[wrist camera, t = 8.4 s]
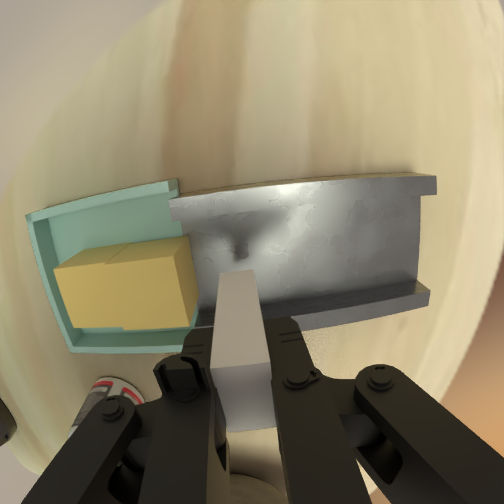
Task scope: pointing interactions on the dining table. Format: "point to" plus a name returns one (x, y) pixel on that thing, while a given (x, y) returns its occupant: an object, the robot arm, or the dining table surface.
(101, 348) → the tray
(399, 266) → the slot rail
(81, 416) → the pill bottle
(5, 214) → the dining table surface
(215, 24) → the dining table surface
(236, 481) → the bowl
